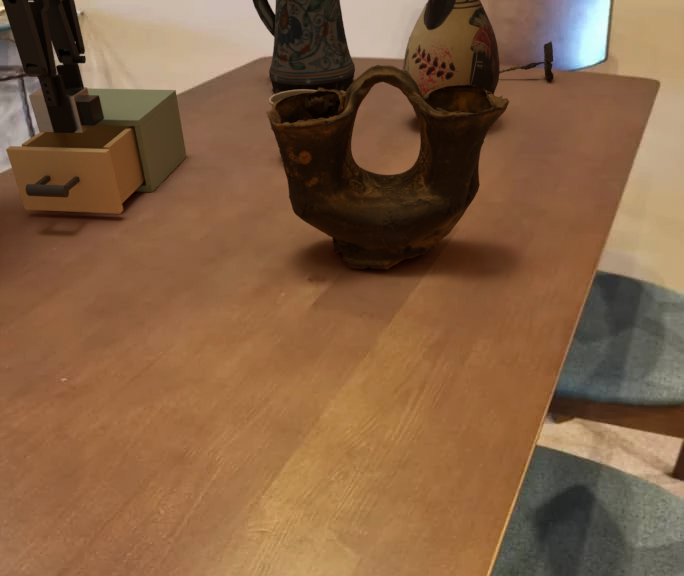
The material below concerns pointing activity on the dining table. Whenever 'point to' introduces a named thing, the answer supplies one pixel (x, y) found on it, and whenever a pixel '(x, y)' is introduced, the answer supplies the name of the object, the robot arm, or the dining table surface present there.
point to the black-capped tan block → (81, 105)
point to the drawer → (78, 169)
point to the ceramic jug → (453, 47)
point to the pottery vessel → (376, 189)
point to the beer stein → (307, 45)
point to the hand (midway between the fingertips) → (73, 125)
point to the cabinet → (147, 128)
